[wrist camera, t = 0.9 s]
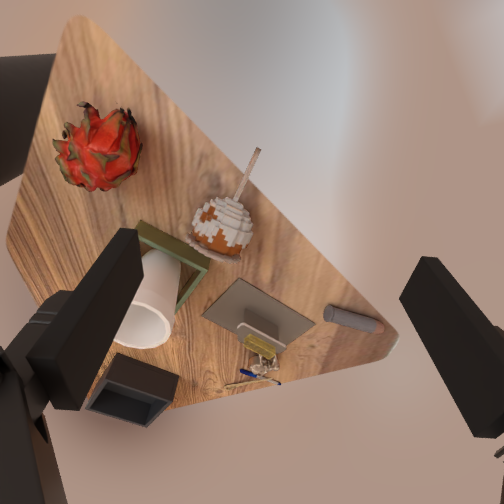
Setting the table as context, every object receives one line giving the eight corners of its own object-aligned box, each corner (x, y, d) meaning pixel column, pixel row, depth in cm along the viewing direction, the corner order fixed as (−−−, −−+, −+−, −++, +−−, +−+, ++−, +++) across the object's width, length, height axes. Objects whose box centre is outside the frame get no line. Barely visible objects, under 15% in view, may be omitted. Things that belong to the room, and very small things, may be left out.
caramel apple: (184, 234, 43) (227, 134, 40) (232, 253, 45) (276, 160, 42) (183, 252, 36) (235, 132, 32) (241, 273, 38) (294, 164, 35)
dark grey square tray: (96, 383, 70) (84, 409, 66) (117, 352, 63) (104, 378, 58) (154, 402, 75) (146, 427, 70) (179, 375, 68) (172, 401, 63)
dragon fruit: (87, 167, 41) (141, 102, 38) (118, 214, 40) (178, 151, 36) (22, 150, 33) (84, 65, 30) (58, 208, 32) (128, 126, 28)
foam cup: (121, 250, 48) (80, 310, 37) (170, 232, 45) (142, 291, 35) (154, 291, 53) (127, 354, 42) (200, 276, 50) (183, 340, 40)
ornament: (269, 364, 66) (271, 381, 63) (241, 360, 63) (241, 378, 61) (288, 350, 60) (290, 369, 58) (258, 346, 58) (259, 365, 55)
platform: (274, 354, 62) (275, 383, 56) (201, 316, 56) (194, 345, 50) (315, 324, 56) (321, 354, 51) (239, 278, 50) (236, 306, 45)
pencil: (322, 310, 54) (324, 324, 52) (331, 301, 52) (333, 316, 50) (374, 325, 57) (377, 339, 55) (384, 317, 55) (388, 332, 53)
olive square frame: (114, 271, 50) (105, 285, 47) (140, 219, 44) (132, 232, 41) (179, 300, 54) (174, 315, 51) (211, 256, 48) (208, 270, 45)
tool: (276, 379, 64) (271, 375, 64) (276, 382, 64) (271, 378, 63) (228, 388, 71) (223, 384, 70) (227, 391, 70) (222, 387, 69)
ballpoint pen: (241, 367, 65) (238, 369, 66) (240, 370, 65) (238, 373, 65) (281, 382, 68) (279, 384, 68) (281, 386, 67) (279, 388, 68)
